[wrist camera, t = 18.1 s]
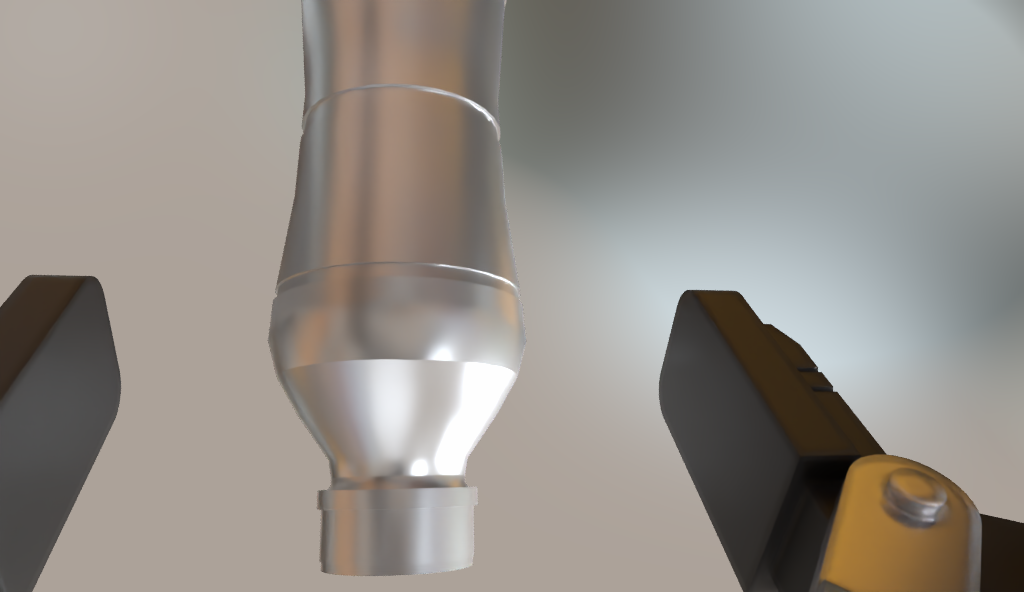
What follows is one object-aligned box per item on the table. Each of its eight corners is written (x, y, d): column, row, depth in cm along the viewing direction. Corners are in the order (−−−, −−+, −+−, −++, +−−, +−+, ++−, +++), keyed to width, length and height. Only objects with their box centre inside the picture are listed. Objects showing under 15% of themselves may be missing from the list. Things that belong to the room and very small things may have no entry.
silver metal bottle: (319, -65, 26) (292, 557, 21) (266, -253, 19) (209, 590, 14) (509, -62, 26) (525, 550, 21) (521, -246, 19) (549, 580, 15)
